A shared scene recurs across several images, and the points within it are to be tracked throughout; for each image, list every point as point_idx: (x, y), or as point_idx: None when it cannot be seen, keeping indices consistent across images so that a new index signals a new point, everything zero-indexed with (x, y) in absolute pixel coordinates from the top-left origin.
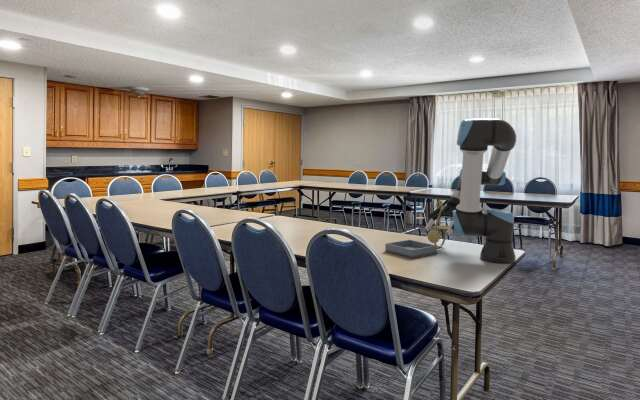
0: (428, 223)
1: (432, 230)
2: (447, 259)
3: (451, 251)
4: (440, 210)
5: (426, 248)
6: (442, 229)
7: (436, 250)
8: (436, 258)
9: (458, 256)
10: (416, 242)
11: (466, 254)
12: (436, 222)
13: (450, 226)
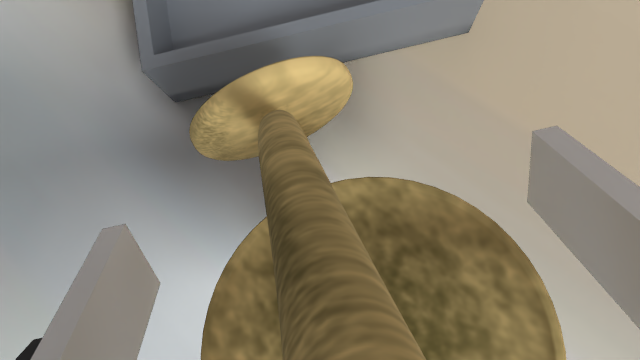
0: (611, 181)
1: (272, 67)
2: (6, 65)
3: (186, 285)
4: (353, 311)
5: None
6: (247, 251)
7: (162, 86)
8: (65, 10)
9: (27, 209)
10: (382, 5)
11: (42, 332)
12: (274, 112)
13: (64, 317)
